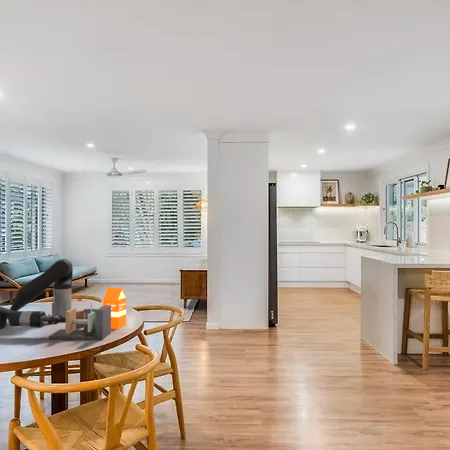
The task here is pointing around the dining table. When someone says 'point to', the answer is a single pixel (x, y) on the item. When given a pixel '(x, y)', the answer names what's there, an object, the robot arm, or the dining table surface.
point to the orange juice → (116, 306)
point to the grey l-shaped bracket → (98, 333)
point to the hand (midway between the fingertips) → (69, 320)
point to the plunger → (72, 320)
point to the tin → (80, 318)
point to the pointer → (91, 320)
